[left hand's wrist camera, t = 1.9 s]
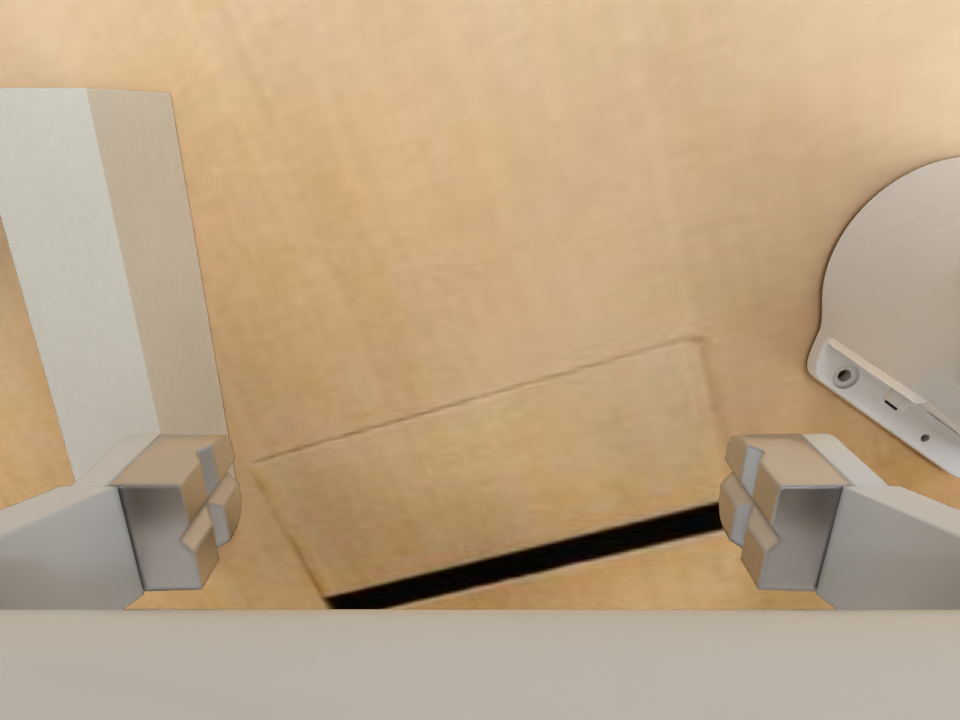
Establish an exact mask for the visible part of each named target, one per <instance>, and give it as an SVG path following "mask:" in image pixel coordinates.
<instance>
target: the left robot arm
mask: <svg viewBox="0 0 960 720" xmlns="http://www.w3.org/2000/svg"><path fill="white" fill-rule="evenodd" d="M807 369H808V372H809V373H810V375H811V376H812V377H813V378H815V379H816V380H818V381H819V382H820V383H822V384H823V385H825V386H826V387H827V388H829V389H830V390H832V391H833V392H834V393H836V394H837V395H839V396H840V397H841V398H843V399H844V400H846V401H847V402H848V403H850V404H851V405H853V406H854V407H855V408H857V409H858V410H860V411H861V412H862V413H864V414H865V415H867V416H868V417H869V418H871V419H872V420H874V421H875V422H876V423H878V424H879V425H881V426H882V427H883V428H885V429H886V430H888V431H889V432H891V433H892V434H893V435H895V436H896V437H898V438H899V439H900V440H902V441H903V442H905V443H906V444H907V445H909V446H910V447H912V448H913V449H914V450H916V451H917V452H919V453H920V454H921V455H923V456H924V457H926V458H927V459H928V460H930V461H931V462H933V463H934V464H936V465H937V466H938V467H940V468H941V469H943V470H944V471H946V472H948V473H950V474H951V475H953V476H955V477H958V478H960V157H955V158H949V159H945V160H941V161H937V162H934V163H931V164H928V165H925V166H923V167H920V168H918V169H916V170H914V171H912V172H910V173H908V174H906V175H904V176H902V177H901V178H899V179H897V180H896V181H894V182H893V183H891V184H890V185H888V186H887V187H886V188H884V189H883V190H882V191H880V192H879V193H878V194H877V195H876V196H874V197H873V198H872V199H871V200H870V201H869V202H868V203H867V204H866V205H865V206H864V207H863V208H862V209H861V210H860V211H859V212H858V214H857V215H856V216H855V217H854V218H853V220H852V221H851V222H850V224H849V225H848V226H847V228H846V229H845V231H844V232H843V234H842V236H841V237H840V239H839V241H838V243H837V245H836V246H835V249H834V251H833V253H832V255H831V258H830V260H829V263H828V266H827V270H826V273H825V277H824V282H823V289H822V320H821V327H820V330H819V332H818V334H817V337H816V339H815V341H814V343H813V346H812V348H811V351H810V353H809V357H808V361H807ZM842 370H845V373H844V374H843V375H842V376H841V377H838V374H839V373H840V372H841V371H842ZM234 460H235V457H234V453H233V448H232V443H231V441H230V440H229V438H228V437H227V436H226V435H201V434H162V433H149V434H129V435H126V436H125V437H124V438H123V439H122V440H121V441H120V442H119V443H118V444H117V445H115V446H114V447H113V448H112V449H111V450H110V451H109V452H108V453H107V454H106V455H104V456H103V457H102V458H101V459H100V460H99V461H98V462H97V463H96V464H95V465H93V466H92V467H91V468H90V469H89V470H88V471H87V472H86V473H85V474H83V475H82V476H81V477H80V478H79V479H78V480H77V481H76V482H75V483H74V484H72V485H71V486H59V487H57V488H54V489H52V490H49V491H47V492H44V493H42V494H39V495H37V496H34V497H32V498H29V499H27V500H24V501H22V502H19V503H17V504H14V505H12V506H9V507H7V508H4V509H2V510H0V720H960V510H958V509H956V508H953V507H951V506H948V505H946V504H943V503H941V502H938V501H936V500H933V499H931V498H928V497H926V496H923V495H921V494H918V493H916V492H913V491H911V490H908V489H906V488H903V487H901V486H889V485H888V484H886V483H885V482H884V481H883V480H882V479H881V478H880V477H879V476H878V475H877V474H875V473H874V472H873V471H872V470H871V469H870V468H869V467H868V466H867V465H866V464H865V463H863V462H862V461H861V460H860V459H859V458H858V457H857V456H856V455H855V454H854V453H852V452H851V451H850V450H849V449H848V448H847V447H846V446H845V445H844V444H843V443H841V442H840V441H839V440H838V439H837V438H836V437H835V436H834V435H831V434H827V433H814V434H763V435H737V436H732V437H731V439H730V442H729V444H728V446H727V452H726V457H725V460H726V462H727V463H728V465H729V466H730V468H731V470H732V473H731V474H730V475H729V476H728V477H727V478H726V479H725V480H724V481H723V482H722V483H721V488H720V495H719V510H720V519H721V522H722V525H723V529H724V531H725V533H726V535H727V536H728V538H729V540H730V541H731V542H733V543H735V544H736V545H738V546H740V547H741V548H743V550H742V555H741V561H742V562H743V564H744V566H745V568H746V569H747V571H748V573H749V574H750V576H751V578H752V579H753V581H754V583H755V584H756V586H757V588H758V590H789V591H816V594H817V595H818V596H820V597H821V598H822V599H824V600H825V601H826V602H828V603H829V604H831V605H832V606H833V607H835V608H836V609H837V610H264V609H124V608H126V607H127V606H128V605H130V604H131V603H132V602H134V601H135V600H136V599H138V598H139V597H141V596H142V595H143V594H144V591H170V590H202V588H203V586H204V585H205V583H206V581H207V579H208V578H209V576H210V574H211V573H212V571H213V569H214V568H215V566H216V564H217V562H218V561H219V555H218V550H217V548H219V547H220V546H222V545H224V544H225V543H227V542H229V541H230V540H231V538H232V536H233V534H234V533H235V531H236V529H237V526H238V521H239V517H240V513H241V493H240V487H239V483H238V482H237V481H236V480H235V479H234V478H233V477H232V476H231V475H230V474H229V473H228V470H229V468H230V466H231V465H232V463H233V462H234Z"/></svg>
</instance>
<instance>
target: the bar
mask: <svg viewBox="0 0 960 720" xmlns="http://www.w3.org/2000/svg"><path fill="white" fill-rule="evenodd" d="M0 215H1V219H2V223H3V226H4V230H5V233H6V237H7V240H8V244H9V247H10V251H11V254H12V258H13V262H14V265H15V269H16V272H17V276H18V279H19V283H20V286H21V290H22V293H23V297H24V301H25V304H26V308H27V311H28V315H29V318H30V322H31V325H32V329H33V332H34V336H35V340H36V343H37V347H38V350H39V354H40V357H41V361H42V364H43V368H44V371H45V375H46V379H47V382H48V386H49V389H50V393H51V396H52V400H53V403H54V407H55V410H56V414H57V418H58V421H59V425H60V428H61V432H62V435H63V439H64V442H65V446H66V449H67V453H68V457H69V460H70V464H71V467H72V471H73V474H74V478H75V481H77V480H78V479H79V478H80V477H81V476H82V475H83V474H85V473H86V472H87V471H88V470H89V469H90V468H91V467H92V466H93V465H95V464H96V463H97V462H98V461H99V460H100V459H101V458H102V457H103V456H104V455H106V454H107V453H108V452H109V451H110V450H111V449H112V448H113V447H114V446H115V445H117V444H118V443H119V442H120V441H121V440H122V439H123V438H124V437H125V436H126V435H129V434H149V433H162V434H201V435H226V436H227V437H228V431H227V425H226V419H225V413H224V408H223V402H222V396H221V390H220V384H219V378H218V372H217V366H216V360H215V355H214V349H213V343H212V337H211V331H210V325H209V319H208V313H207V307H206V302H205V296H204V290H203V284H202V278H201V272H200V266H199V260H198V254H197V249H196V243H195V237H194V231H193V225H192V219H191V213H190V207H189V201H188V196H187V190H186V184H185V178H184V172H183V166H182V160H181V154H180V148H179V143H178V137H177V131H176V125H175V119H174V113H173V107H172V101H171V96H170V93H169V92H151V91H133V90H114V89H96V88H0ZM228 438H229V437H228ZM228 473H229V474H230V475H231V476H232V477H233V478H234V479H235V480H236V478H235V472H234V466H233V463H232V465H231V466H230V468H229V470H228Z"/></svg>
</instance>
